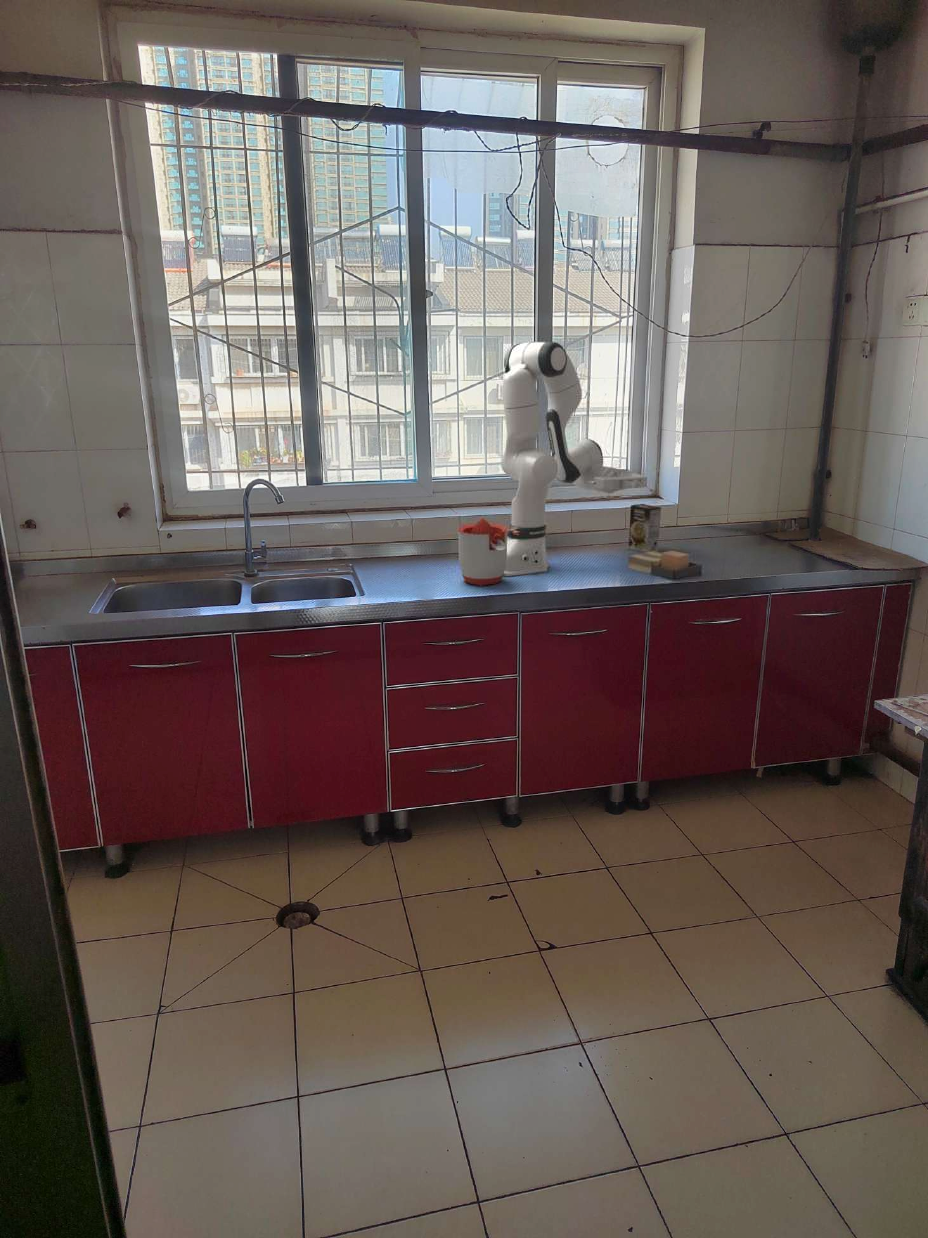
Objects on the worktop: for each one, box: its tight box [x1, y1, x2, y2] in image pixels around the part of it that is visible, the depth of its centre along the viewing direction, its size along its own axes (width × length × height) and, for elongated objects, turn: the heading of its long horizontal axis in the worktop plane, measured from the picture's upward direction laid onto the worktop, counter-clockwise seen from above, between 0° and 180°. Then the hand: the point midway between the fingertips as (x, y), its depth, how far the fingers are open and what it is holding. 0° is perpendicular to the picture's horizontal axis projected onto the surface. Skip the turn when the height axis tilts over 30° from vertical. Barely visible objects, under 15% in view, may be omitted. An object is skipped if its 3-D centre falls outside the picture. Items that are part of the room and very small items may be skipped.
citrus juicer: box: [457, 518, 509, 586], centre depth 251 cm, size 16×17×20 cm
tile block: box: [661, 550, 690, 570], centre depth 259 cm, size 5×6×7 cm
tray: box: [650, 561, 703, 581], centre depth 259 cm, size 13×9×3 cm
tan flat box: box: [627, 551, 663, 575], centre depth 267 cm, size 12×10×4 cm
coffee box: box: [628, 503, 662, 553], centre depth 290 cm, size 9×6×16 cm
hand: (637, 485), depth 266 cm, fingers closed
